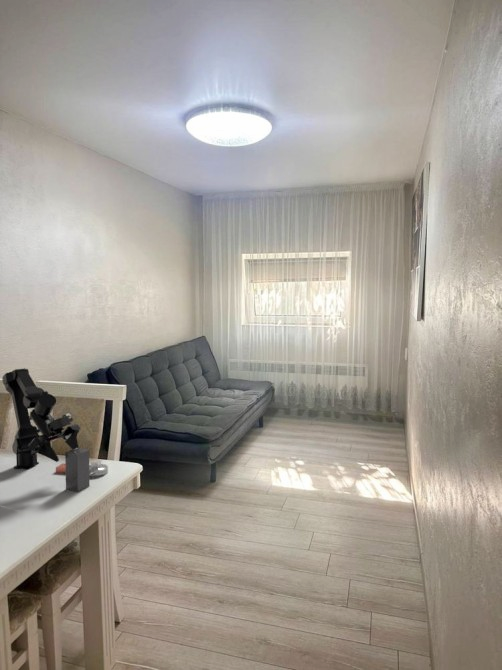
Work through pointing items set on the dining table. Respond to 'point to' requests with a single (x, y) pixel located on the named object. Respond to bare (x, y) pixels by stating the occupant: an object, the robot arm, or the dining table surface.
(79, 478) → the tall grey pillar
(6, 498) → the dining table surface
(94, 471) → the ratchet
